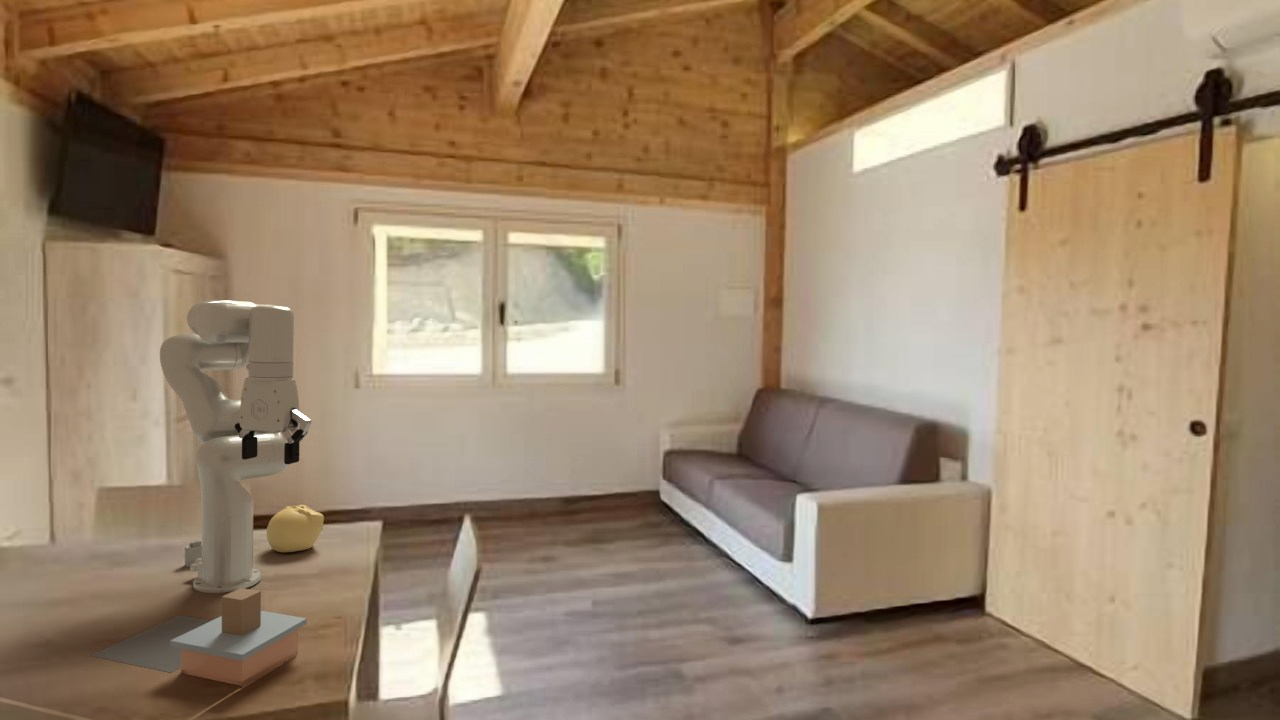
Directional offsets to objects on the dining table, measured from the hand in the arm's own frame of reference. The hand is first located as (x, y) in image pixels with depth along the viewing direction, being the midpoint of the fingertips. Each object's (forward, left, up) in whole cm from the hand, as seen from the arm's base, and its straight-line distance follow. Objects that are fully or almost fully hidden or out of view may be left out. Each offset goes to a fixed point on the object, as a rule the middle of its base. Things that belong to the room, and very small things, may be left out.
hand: (270, 460), depth 136 cm
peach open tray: (+10, -17, -30) cm, 36 cm away
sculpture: (-23, +33, -31) cm, 51 cm away
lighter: (-35, +18, -31) cm, 50 cm away
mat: (-6, -15, -30) cm, 34 cm away
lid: (+10, -17, -25) cm, 32 cm away
